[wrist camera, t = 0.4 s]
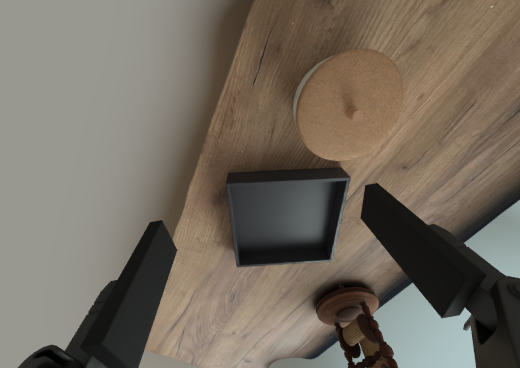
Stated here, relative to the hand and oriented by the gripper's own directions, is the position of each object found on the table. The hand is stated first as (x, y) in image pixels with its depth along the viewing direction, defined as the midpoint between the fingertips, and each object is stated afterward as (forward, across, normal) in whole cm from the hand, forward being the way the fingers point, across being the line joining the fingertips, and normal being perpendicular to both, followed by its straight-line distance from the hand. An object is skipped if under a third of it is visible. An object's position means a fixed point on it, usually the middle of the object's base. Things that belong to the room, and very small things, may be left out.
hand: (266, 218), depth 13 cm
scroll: (+17, +16, -45) cm, 51 cm away
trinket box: (+18, +10, +3) cm, 21 cm away
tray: (+18, +3, -15) cm, 24 cm away
